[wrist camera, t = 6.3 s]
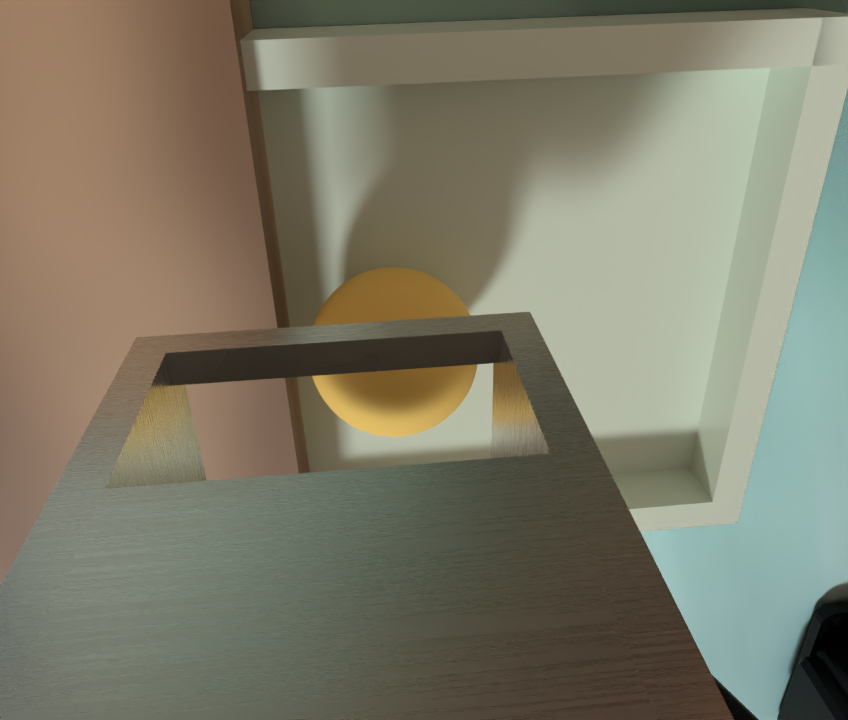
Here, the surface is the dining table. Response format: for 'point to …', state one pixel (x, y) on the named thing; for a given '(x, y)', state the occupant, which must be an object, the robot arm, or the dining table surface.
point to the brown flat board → (130, 231)
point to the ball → (396, 389)
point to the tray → (568, 215)
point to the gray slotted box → (343, 559)
